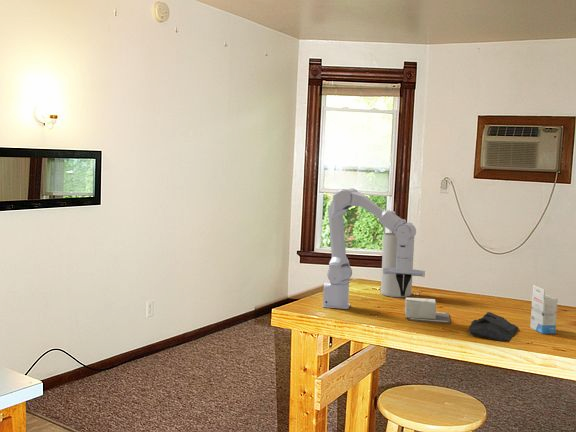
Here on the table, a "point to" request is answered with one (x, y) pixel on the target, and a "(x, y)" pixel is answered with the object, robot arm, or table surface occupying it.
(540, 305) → the ink box
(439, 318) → the mat
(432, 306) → the small box
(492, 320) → the crumpled dark cloth
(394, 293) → the cylinder vase
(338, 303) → the robot arm
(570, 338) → the table surface
